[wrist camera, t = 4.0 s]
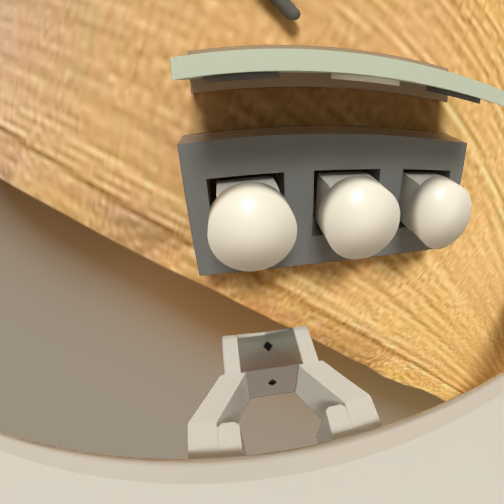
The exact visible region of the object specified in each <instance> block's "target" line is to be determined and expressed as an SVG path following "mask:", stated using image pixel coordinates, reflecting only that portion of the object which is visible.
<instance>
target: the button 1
mask: <svg viewBox="0 0 504 504" xmlns="http://www.w3.org/2000/svg"><path fill="white" fill-rule="evenodd" d="M216 197H217V198H216V199H215V200H214V202H213V204H212V206H211V208H210V211H209V217H208V232H207V236H208V243H209V246H210V248H211V250H212V252H213V254H214V255H215V256H216V258H217V259H218V260H219V261H221V262H222V263H223V264H225V265H227V266H228V267H231V268H233V269H236V270H240V271H259V270H264V269H267V268H270V267H272V266H274V265H276V264H277V263H279V262H280V261H281V260H283V259H284V258H285V257H286V256H287V255H288V254H289V252H290V251H291V249H292V248H293V246H294V243H295V241H296V237H297V223H296V219H295V217H294V214H293V212H292V210H291V208H290V206H289V204H288V202H287V201H286V199H285V197H284V196H283V195H282V194H281V193H280V190H279V188H278V186H277V184H276V182H275V180H274V178H273V176H262V177H250V178H239V179H228V180H219V181H217V188H216Z"/></svg>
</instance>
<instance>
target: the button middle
mask: <svg viewBox="0 0 504 504" xmlns="http://www.w3.org/2000/svg"><path fill="white" fill-rule="evenodd" d="M316 222H317V224H318V226H319V227H320V229H321V231H322V233H323V234H324V236H325V238H326V239H327V241H328V243H329V245H330V246H331V248H332V249H333V250H334V251H335V252H336V253H337V254H338V255H340V256H342V257H344V258H348V259H364V258H367V257H370V256H373V255H375V254H376V253H378V252H380V251H381V250H382V249H384V248H385V247H386V246H387V245H388V244H389V243H390V241H391V240H392V239H393V237H394V236H395V234H396V232H397V229H398V226H399V222H400V208H399V204H398V202H397V200H396V198H395V197H394V195H393V194H392V193H391V192H389V191H388V190H387V189H386V188H385V187H383V186H382V184H381V183H379V182H378V181H377V180H376V179H374V178H373V177H372V176H371V175H369V174H368V173H367V172H330V173H317V198H316Z"/></svg>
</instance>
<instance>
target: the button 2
mask: <svg viewBox="0 0 504 504" xmlns="http://www.w3.org/2000/svg"><path fill="white" fill-rule="evenodd" d="M398 204H399V208H400V221H401V222H402V223H403V224H404V225H405V226H406V227H407V228H408V229H409V230H410V231H413V233H414V234H415V235H416V236H417V237H418V238H419V239H420V240H421V241H422V242H423V243H424V244H425V245H426V246H427V247H429V248H432V249H441V248H444V247H447V246H449V245H450V244H452V243H453V242H454V241H455V240H456V239H458V237H459V236H460V235H461V234H462V233H463V231H464V229H465V228H466V226H467V224H468V221H469V218H470V214H471V199H470V196H469V194H468V192H467V191H466V190H465V189H464V188H463V187H461V186H460V185H458V184H457V183H455V182H454V181H452V180H451V179H449V178H447V177H445V176H441V175H440V174H438V173H437V172H406V171H403V176H402V183H401V190H400V197H399V203H398Z"/></svg>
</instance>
